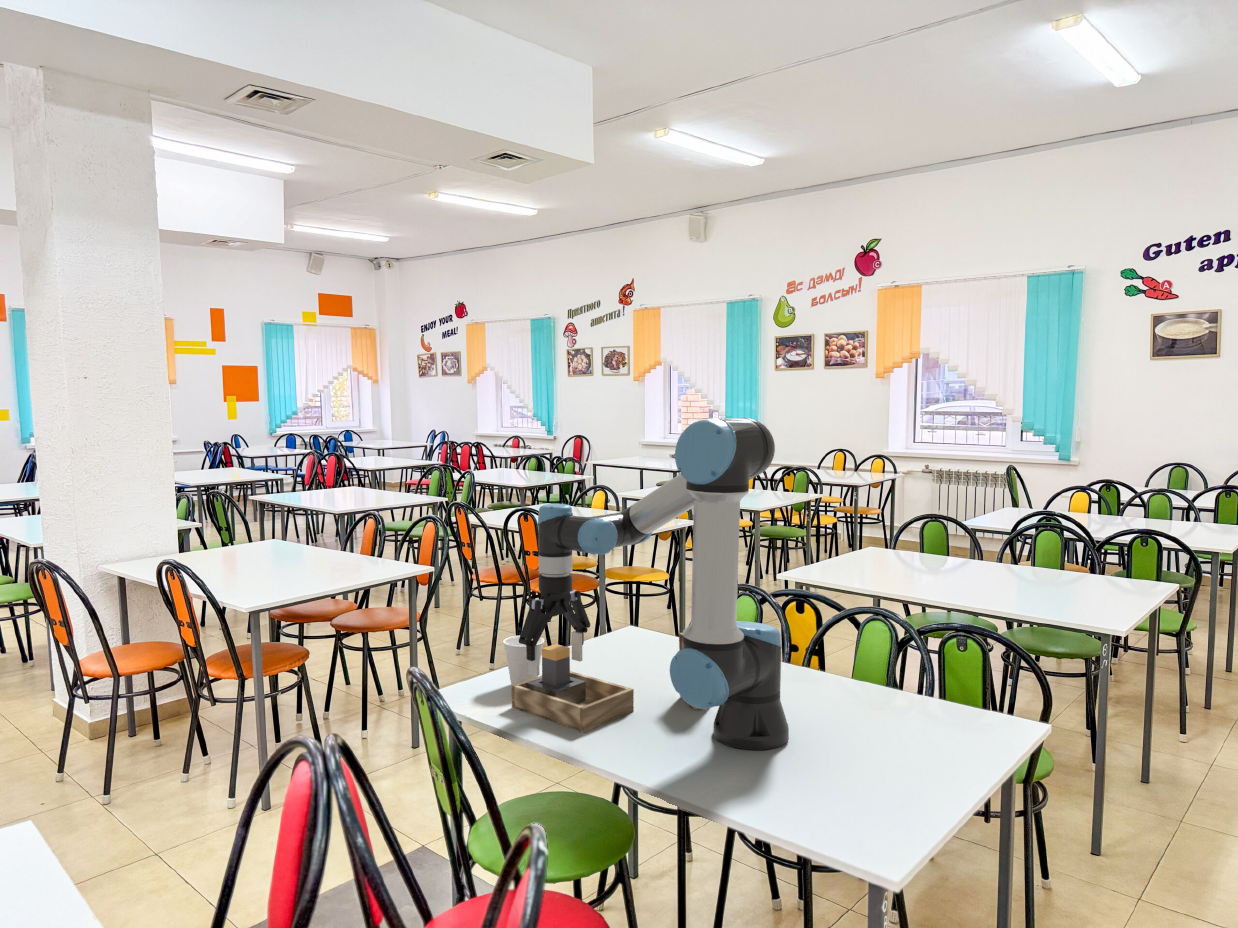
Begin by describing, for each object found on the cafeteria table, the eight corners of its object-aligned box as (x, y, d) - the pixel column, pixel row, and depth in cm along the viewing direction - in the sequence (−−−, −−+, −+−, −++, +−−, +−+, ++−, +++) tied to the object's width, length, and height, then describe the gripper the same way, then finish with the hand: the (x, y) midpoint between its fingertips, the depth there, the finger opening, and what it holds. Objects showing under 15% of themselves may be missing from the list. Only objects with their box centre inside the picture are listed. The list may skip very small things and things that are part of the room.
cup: (542, 692, 199) (542, 646, 198) (500, 692, 199) (499, 646, 198) (546, 678, 209) (546, 634, 208) (506, 678, 209) (506, 634, 208)
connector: (570, 699, 191) (569, 647, 190) (556, 704, 188) (555, 651, 187) (556, 695, 194) (555, 643, 193) (542, 700, 191) (541, 648, 190)
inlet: (585, 700, 191) (585, 681, 191) (556, 712, 184) (556, 691, 184) (556, 691, 198) (556, 672, 197) (526, 702, 191) (526, 682, 190)
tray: (633, 711, 187) (633, 688, 186) (583, 732, 175) (583, 708, 174) (562, 689, 201) (562, 668, 201) (511, 707, 189) (511, 685, 189)
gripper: (581, 563, 201) (582, 651, 202) (501, 579, 182) (502, 676, 184) (605, 567, 196) (605, 657, 197) (525, 584, 177) (526, 684, 179)
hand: (556, 667), depth 190 cm, fingers open, 13 cm apart
